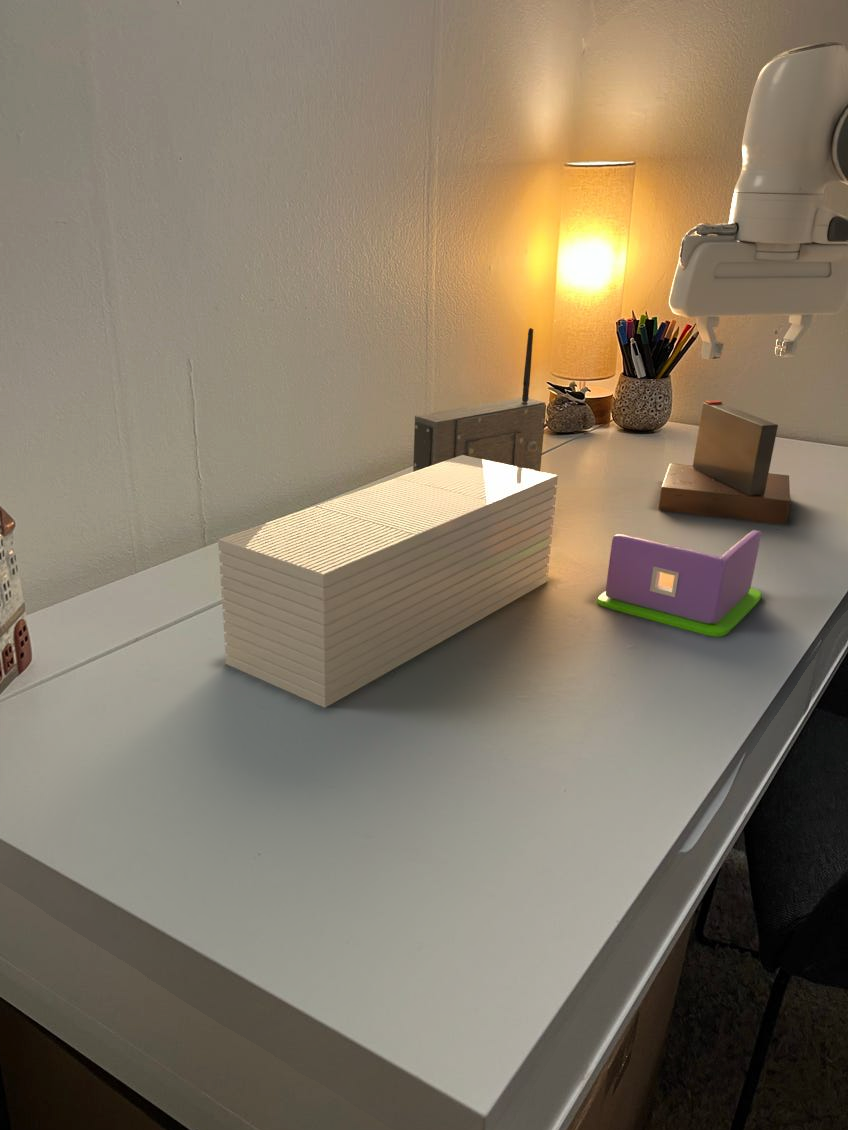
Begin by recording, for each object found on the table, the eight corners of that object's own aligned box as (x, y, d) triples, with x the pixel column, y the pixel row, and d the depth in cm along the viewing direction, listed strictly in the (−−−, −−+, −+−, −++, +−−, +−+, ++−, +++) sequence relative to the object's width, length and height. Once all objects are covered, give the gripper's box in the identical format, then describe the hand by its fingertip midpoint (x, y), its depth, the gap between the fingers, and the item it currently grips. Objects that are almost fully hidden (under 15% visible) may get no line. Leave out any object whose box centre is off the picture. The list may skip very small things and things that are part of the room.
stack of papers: (324, 710, 70) (323, 574, 66) (226, 666, 77) (218, 539, 72) (547, 583, 93) (557, 475, 88) (456, 557, 99) (462, 454, 94)
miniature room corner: (721, 641, 81) (735, 566, 78) (591, 605, 88) (600, 535, 85) (764, 597, 90) (779, 528, 87) (643, 567, 96) (653, 502, 93)
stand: (784, 498, 118) (789, 475, 116) (785, 526, 108) (790, 500, 107) (666, 485, 122) (670, 462, 121) (657, 511, 113) (661, 486, 111)
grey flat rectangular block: (764, 494, 109) (778, 422, 105) (749, 495, 108) (762, 423, 105) (706, 466, 119) (717, 399, 116) (692, 467, 119) (703, 400, 115)
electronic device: (514, 488, 120) (527, 323, 112) (554, 502, 116) (571, 330, 107) (408, 514, 111) (413, 336, 102) (447, 530, 106) (456, 344, 97)
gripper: (701, 224, 96) (679, 365, 103) (874, 225, 101) (843, 359, 107) (669, 221, 102) (650, 355, 108) (834, 222, 106) (807, 350, 113)
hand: (747, 357), depth 108 cm, fingers open, 8 cm apart
